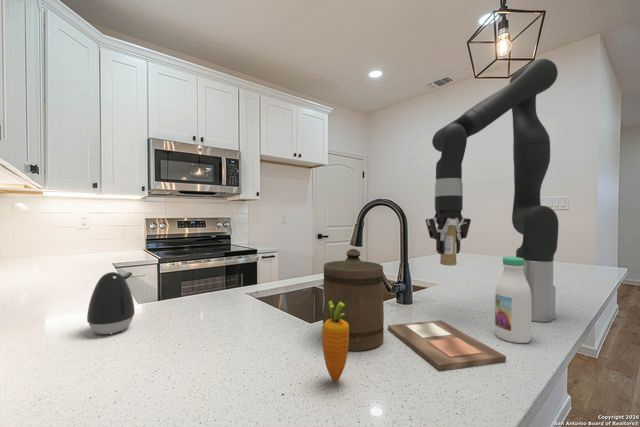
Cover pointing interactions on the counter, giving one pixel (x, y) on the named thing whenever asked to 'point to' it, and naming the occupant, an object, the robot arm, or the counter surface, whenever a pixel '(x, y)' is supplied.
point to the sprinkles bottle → (449, 245)
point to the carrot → (335, 342)
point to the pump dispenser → (111, 304)
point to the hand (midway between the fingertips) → (448, 253)
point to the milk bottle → (513, 303)
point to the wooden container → (356, 299)
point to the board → (445, 345)
